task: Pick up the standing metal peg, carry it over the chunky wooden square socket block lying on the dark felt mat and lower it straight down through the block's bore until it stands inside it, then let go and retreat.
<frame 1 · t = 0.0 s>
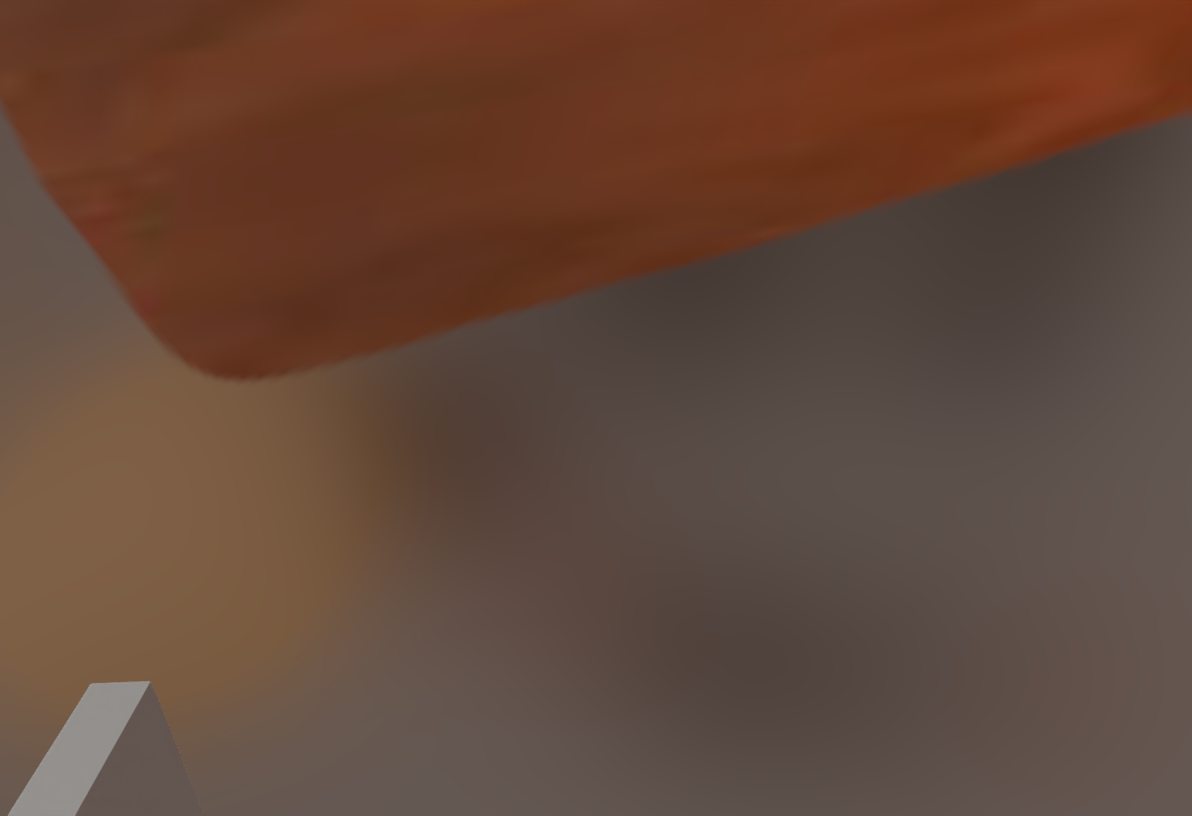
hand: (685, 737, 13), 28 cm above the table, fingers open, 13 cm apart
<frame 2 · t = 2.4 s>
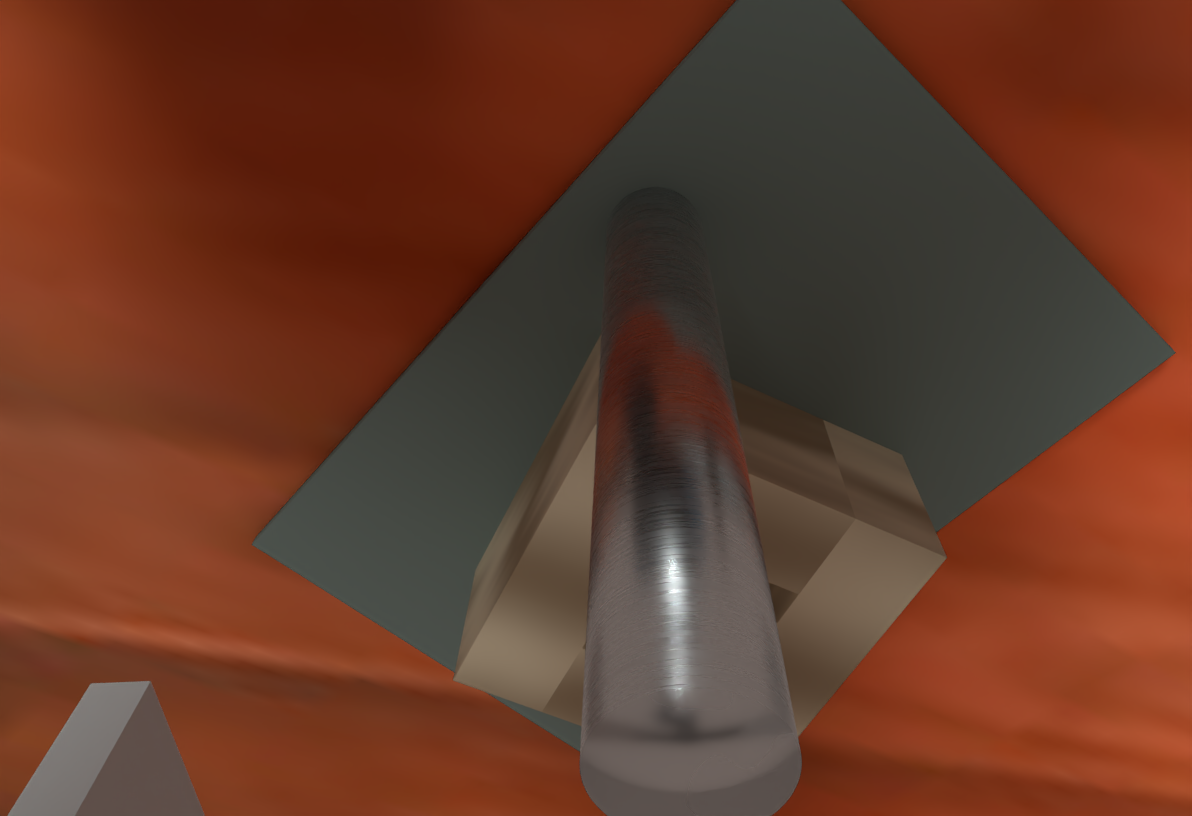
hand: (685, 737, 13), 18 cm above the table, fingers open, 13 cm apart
wooden square socket block: (679, 514, 32), resting on felt mat
felt mat: (680, 448, 31), on the table
metal peg: (654, 233, 27), resting on felt mat
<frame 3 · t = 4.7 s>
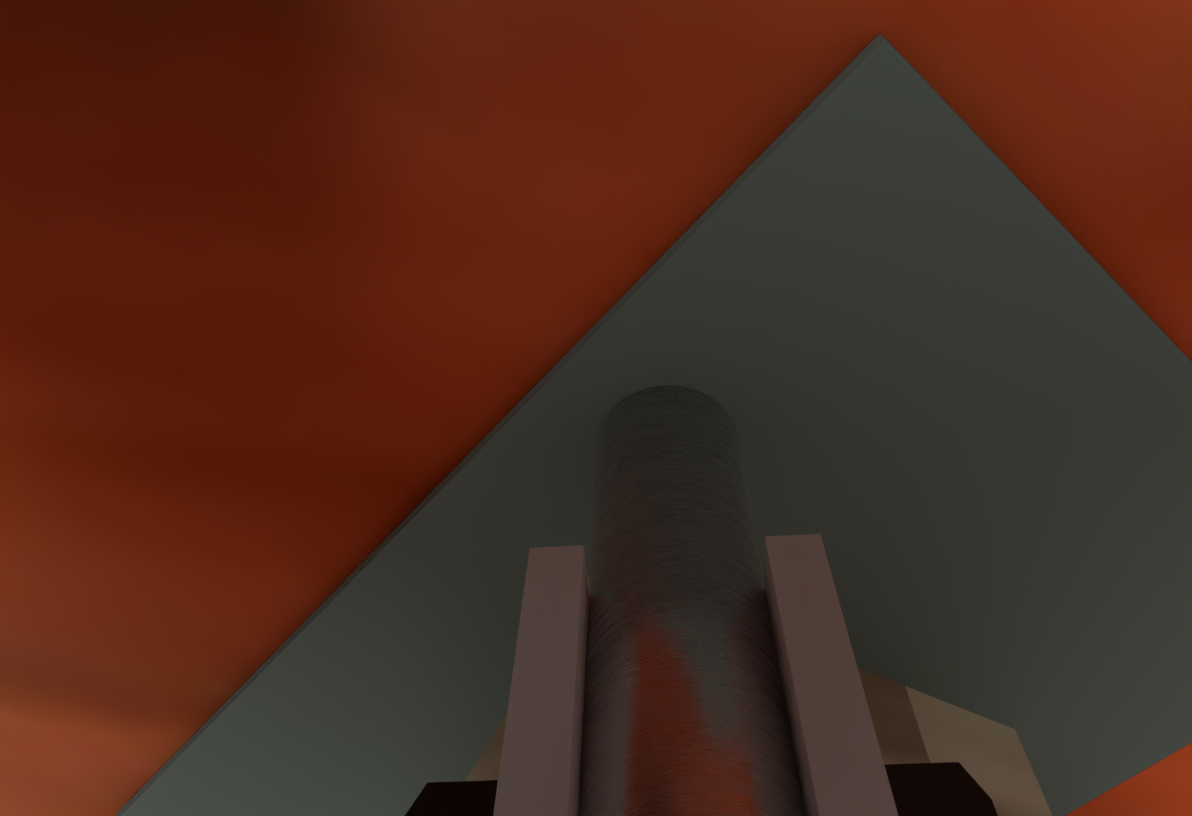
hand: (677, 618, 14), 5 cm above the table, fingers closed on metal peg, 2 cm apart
wooden square socket block: (699, 797, 23), resting on felt mat
felt mat: (701, 713, 22), on the table
metal peg: (666, 447, 18), resting on felt mat, touching gripper
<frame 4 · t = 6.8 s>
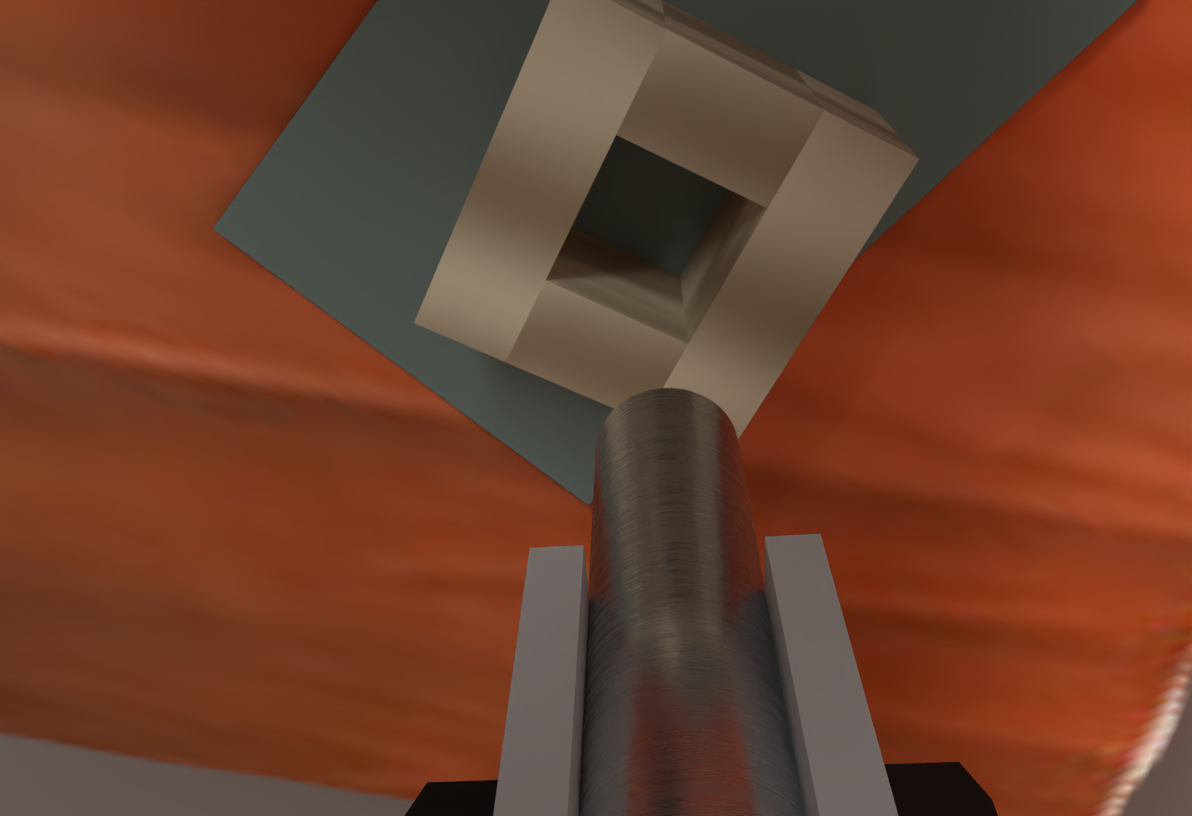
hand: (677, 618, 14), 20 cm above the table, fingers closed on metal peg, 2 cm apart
wooden square socket block: (650, 187, 31), resting on felt mat
felt mat: (650, 111, 31), on the table
metal peg: (666, 450, 18), point 15 cm above the table, touching gripper
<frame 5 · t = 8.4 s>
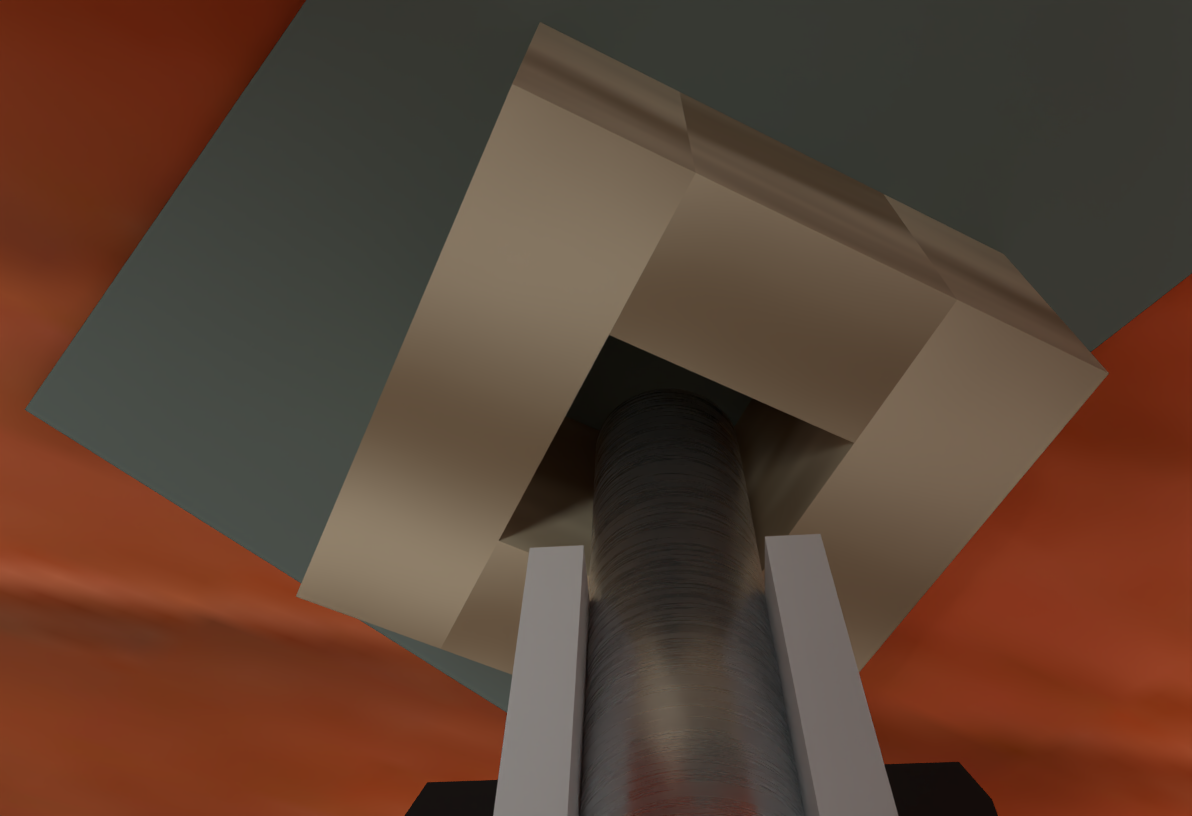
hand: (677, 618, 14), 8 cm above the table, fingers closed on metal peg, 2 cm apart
wooden square socket block: (661, 357, 21), resting on felt mat
felt mat: (662, 250, 20), on the table
metal peg: (666, 450, 18), point 4 cm above the table, touching gripper
when the fingers open (6 cm above the table, at t = 9.3 s): metal peg drops 1 cm, resting on felt mat.
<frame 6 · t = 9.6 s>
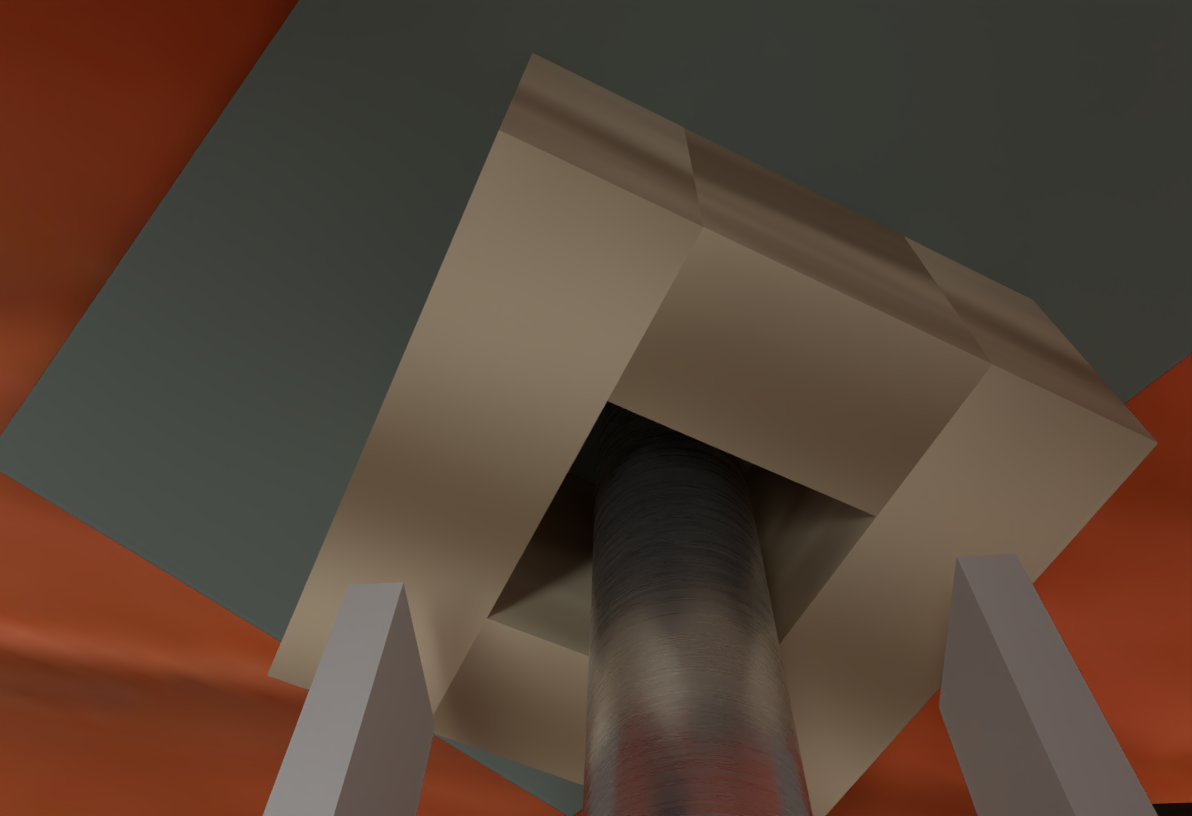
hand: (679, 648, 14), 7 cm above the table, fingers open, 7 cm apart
wooden square socket block: (663, 408, 20), resting on felt mat
felt mat: (664, 294, 19), on the table
metal peg: (664, 409, 20), resting on felt mat
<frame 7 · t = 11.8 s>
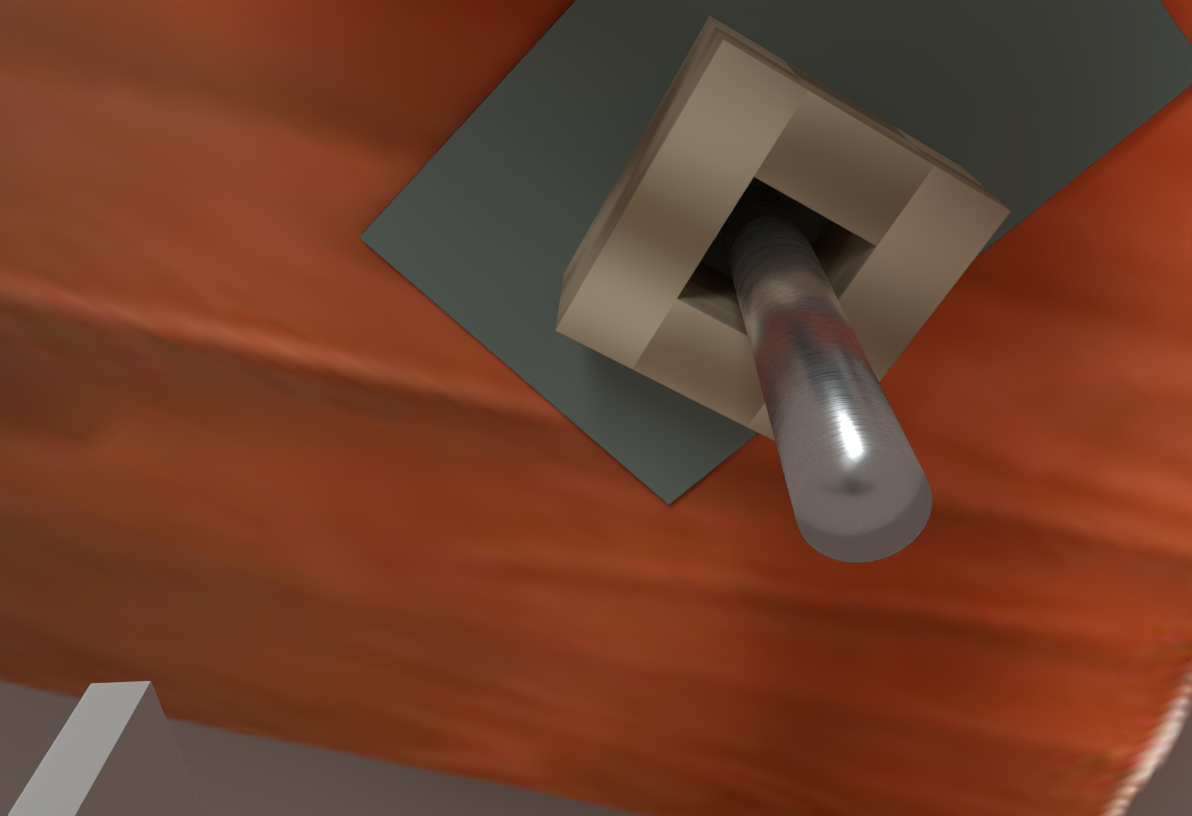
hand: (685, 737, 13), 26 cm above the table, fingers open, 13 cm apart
wooden square socket block: (756, 221, 35), resting on felt mat
felt mat: (762, 155, 35), on the table
metal peg: (756, 222, 35), resting on felt mat
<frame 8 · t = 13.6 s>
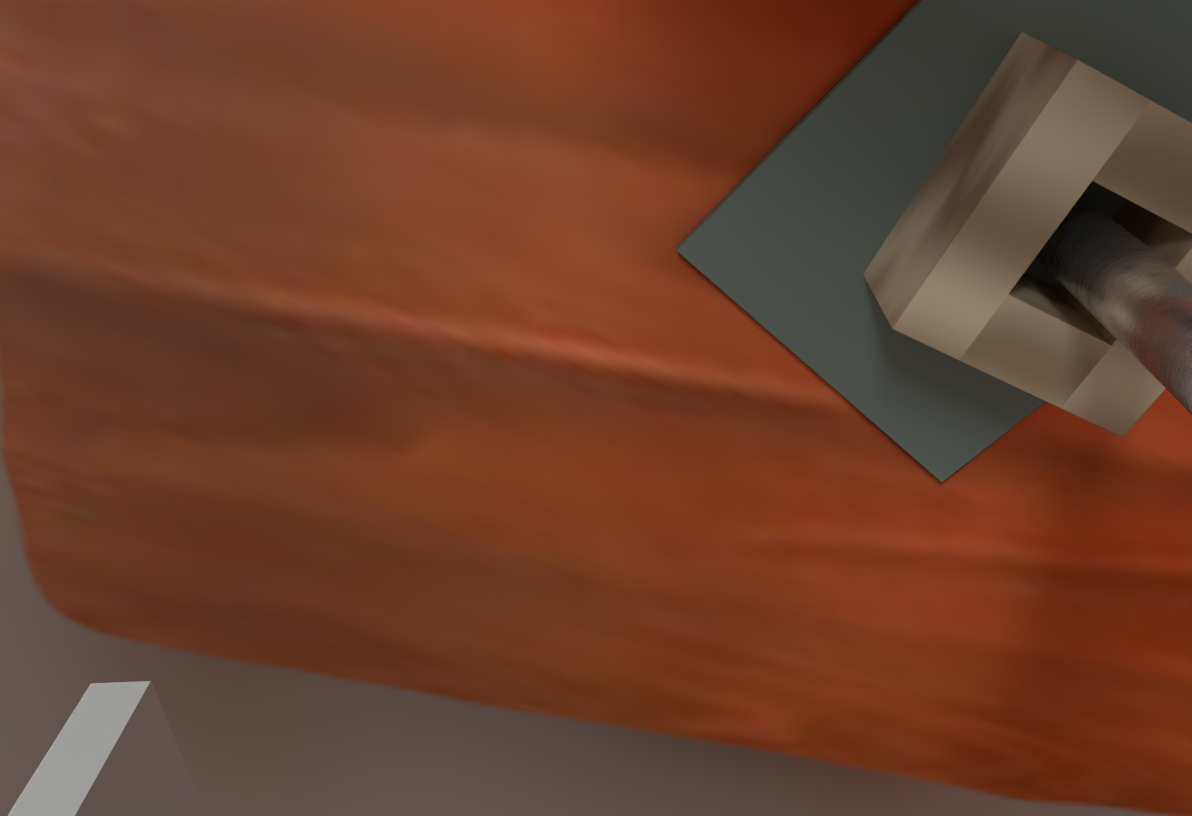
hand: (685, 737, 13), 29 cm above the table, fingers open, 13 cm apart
wooden square socket block: (1048, 217, 38), resting on felt mat
felt mat: (1056, 156, 37), on the table
metal peg: (1048, 218, 38), resting on felt mat
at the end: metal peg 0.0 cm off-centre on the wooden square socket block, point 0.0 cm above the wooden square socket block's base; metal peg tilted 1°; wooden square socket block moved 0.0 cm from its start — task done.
